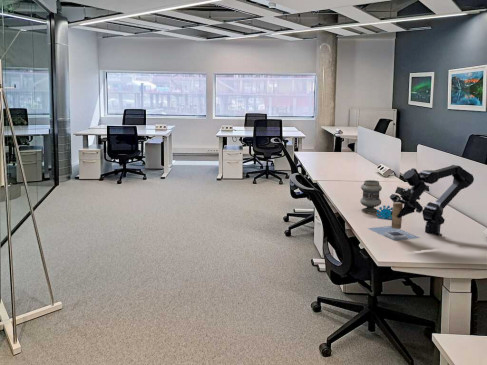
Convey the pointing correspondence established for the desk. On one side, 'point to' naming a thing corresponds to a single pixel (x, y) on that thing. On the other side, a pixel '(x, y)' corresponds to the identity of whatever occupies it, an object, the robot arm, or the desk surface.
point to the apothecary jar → (370, 195)
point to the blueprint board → (389, 229)
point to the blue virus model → (385, 213)
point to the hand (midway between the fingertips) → (394, 216)
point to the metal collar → (390, 234)
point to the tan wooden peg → (396, 210)
